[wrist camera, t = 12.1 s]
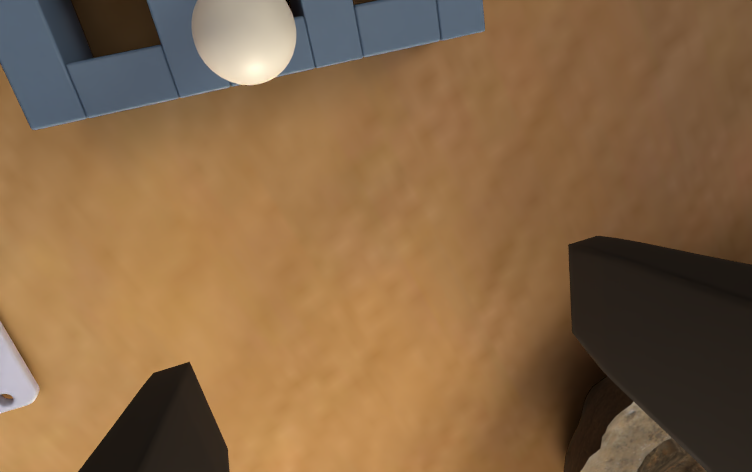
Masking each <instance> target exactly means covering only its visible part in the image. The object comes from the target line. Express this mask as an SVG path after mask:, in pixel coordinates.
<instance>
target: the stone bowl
mask: <svg viewBox="0 0 752 472" xmlns="http://www.w3.org/2000/svg"><path fill="white" fill-rule="evenodd" d="M564 472H707V471H706V470H705V469H704V468H703V467H702V466H701V465H700V464H699V463H698V462H697V461H696V460H695V459H694V458H692V457H691V456H690V455H689V454H688V453H687V452H686V451H685V450H684V449H683V448H682V447H681V446H680V445H679V444H678V443H677V442H676V441H675V440H674V439H672V438H671V437H670V436H669V435H668V434H667V433H666V432H665V431H664V430H663V429H662V428H661V427H660V426H659V425H658V424H657V423H656V422H655V421H654V420H652V419H651V418H650V417H649V416H648V415H647V414H646V413H645V412H644V411H643V410H642V409H641V408H640V407H639V406H638V405H637V404H636V403H635V402H634V401H633V400H632V399H631V398H629V397H628V396H627V395H626V394H625V393H624V392H623V391H622V390H621V389H620V388H619V387H618V386H617V385H616V384H615V383H614V382H613V381H612V380H611V379H610V378H609V377H608V376H607V377H606V378H604V379H603V380H602V381H600V382H599V383H597V384H596V385H595V386H593V388H592V389H591V390H590V392H589V394H588V395H587V397H586V400H585V402H584V406H583V411H582V415H581V419H580V422H579V425H578V427H577V429H576V430H575V432H574V434H573V436H572V439H571V441H570V443H569V446H568V449H567V453H566V457H565V465H564Z"/></svg>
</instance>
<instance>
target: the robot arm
mask: <svg viewBox="0 0 752 472" xmlns="http://www.w3.org/2000/svg"><path fill="white" fill-rule="evenodd" d="M568 247H569V271H570V295H571V318H572V333H573V334H574V335H575V337H576V338H577V339H578V341H579V342H580V343H581V345H582V346H583V347H584V348H585V350H586V351H587V352H588V354H589V355H590V356H591V357H592V359H593V360H594V361H595V362H596V363H597V365H598V366H599V367H600V368H601V369H602V371H603V372H604V373H605V374H606V375H607V376H608V377H609V378H610V379H611V380H612V381H613V382H614V383H615V384H616V385H617V386H618V387H619V388H620V389H621V390H622V391H623V392H624V393H625V394H626V395H627V396H628V397H629V398H631V399H632V400H633V401H634V402H635V403H636V404H637V405H638V406H639V407H640V408H641V409H642V410H643V411H644V412H645V413H646V414H647V415H648V416H649V417H650V418H651V419H652V420H654V421H655V422H656V423H657V424H658V425H659V426H660V427H661V428H662V429H663V430H664V431H665V432H666V433H667V434H668V435H669V436H670V437H671V438H672V439H674V440H675V441H676V442H677V443H678V444H679V445H680V446H681V447H682V448H683V449H684V450H685V451H686V452H687V453H688V454H689V455H690V456H691V457H692V458H694V459H695V460H696V461H697V462H698V463H699V464H700V465H701V466H702V467H703V468H704V469H705V470H706V471H707V472H752V265H750V264H745V263H739V262H734V261H729V260H724V259H719V258H714V257H709V256H704V255H699V254H694V253H689V252H685V251H680V250H675V249H670V248H665V247H660V246H656V245H651V244H646V243H641V242H635V241H630V240H624V239H618V238H611V237H602V236H595V237H592V238H589V239H585V240H582V241H579V242H576V243H573V244H569V245H568ZM39 390H40V389H39V386H38V384H37V382H36V380H35V379H34V377H33V375H32V374H31V372H30V370H29V369H28V367H27V365H26V364H25V362H24V360H23V358H22V357H21V355H20V353H19V352H18V350H17V348H16V347H15V345H14V343H13V341H12V340H11V338H10V336H9V335H8V333H7V331H6V330H5V328H4V326H3V325H2V323H1V321H0V413H3V412H6V411H9V410H13V409H16V408H19V407H23V406H26V405H29V404H31V403H32V402H33V401H34V400H35V399H36V397H37V395H38V394H39ZM2 394H9V395H11V396H12V397H13V398H12V399H8V398H5V397H4V396H2ZM78 472H229V460H228V448H227V446H226V444H225V442H224V439H223V437H222V435H221V432H220V430H219V428H218V426H217V423H216V421H215V419H214V416H213V414H212V412H211V410H210V407H209V405H208V403H207V400H206V398H205V396H204V394H203V391H202V389H201V387H200V384H199V382H198V380H197V378H196V375H195V373H194V371H193V369H192V366H191V364H190V362H188V363H185V364H181V365H178V366H175V367H172V368H168V369H165V370H162V371H159V372H155V373H153V374H152V376H151V377H150V378H149V379H148V380H147V381H146V383H145V384H144V385H143V387H142V388H141V389H140V390H139V392H138V393H137V394H136V396H135V397H134V398H133V400H132V401H131V402H130V404H129V405H128V406H127V408H126V409H125V411H124V412H123V413H122V415H121V416H120V417H119V419H118V420H117V421H116V423H115V424H114V425H113V427H112V428H111V429H110V431H109V432H108V433H107V435H106V436H105V437H104V439H103V440H102V441H101V443H100V444H99V445H98V446H97V448H96V449H95V450H94V452H93V453H92V454H91V456H90V457H89V458H88V460H87V461H86V462H85V464H84V465H83V466H82V468H81V469H80V470H79V471H78Z"/></svg>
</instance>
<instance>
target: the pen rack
mask: <svg viewBox="0 0 752 472" xmlns="http://www.w3.org/2000/svg"><path fill="white" fill-rule="evenodd" d="M146 1H147V3H148V6H149V9H150V12H151V15H152V18H153V21H154V24H155V27H156V30H157V33H158V36H159V39H160V42H161V45H155V46H151V47H146V48H141V49H136V50H131V51H126V52H121V53H116V54H111V55H106V56H101V57H96V58H93V55H92V53H91V50H90V47H89V45H88V42H87V40H86V37H85V35H84V32H83V30H82V27H81V25H80V22H79V20H78V17H77V15H76V12H75V10H74V7H73V5H72V2H71V0H0V63H1V66H2V68H3V70H4V72H5V74H6V76H7V78H8V80H9V83H10V85H11V87H12V89H13V91H14V93H15V95H16V97H17V100H18V102H19V104H20V106H21V108H22V110H23V112H24V114H25V117H26V119H27V121H28V123H29V125H30V127H31V129H32V130H38V129H43V128H47V127H52V126H56V125H61V124H66V123H70V122H75V121H79V120H84V119H86V118H93V117H97V116H102V115H107V114H111V113H116V112H120V111H125V110H129V109H134V108H138V107H143V106H147V105H152V104H157V103H161V102H166V101H170V100H175V99H178V98H179V97H180V98H184V97H188V96H193V95H198V94H202V93H207V92H211V91H216V90H220V89H225V88H229V87H230V85H231V86H238V85H241V84H237V83H233V82H230V81H228V80H226V79H223V78H221V77H220V76H218V75H217V74H216V73H214V72H213V71H212V70H211V69H210V68H209V67H208V66H207V65H206V64H205V63H204V61H203V60H202V58H201V57H200V55H199V53H198V51H197V49H196V46H195V44H194V40H193V35H192V14H193V10H194V7H195V5H196V2H197V0H146ZM290 5H291V9H292V13H293V17H294V21H295V26H296V45H295V49H294V53H293V56H292V58H291V60H290V62H289V64H288V65H287V66H286V68H285V69H284V70H283V71H282V72H281V73H280V74H279V75H278V76H276V77H279V76H284V75H288V74H293V73H297V72H302V71H306V70H311V69H314V68H315V67H316V68H320V67H325V66H329V65H334V64H338V63H343V62H348V61H352V60H357V59H361V58H363V57H370V56H374V55H379V54H383V53H388V52H392V51H397V50H401V49H406V48H411V47H415V46H420V45H424V44H429V43H433V42H438V41H439V40H447V39H452V38H456V37H461V36H465V35H470V34H475V33H479V32H483V31H485V23H484V12H483V1H482V0H377V1H372V2H367V3H362V4H357V5H353V0H290Z"/></svg>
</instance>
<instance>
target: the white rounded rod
mask: <svg viewBox="0 0 752 472" xmlns="http://www.w3.org/2000/svg"><path fill="white" fill-rule="evenodd" d="M192 35H193V40H194V44H195V46H196V49H197V51H198V53H199V55H200V57H201V58H202V60H203V61H204V63H205V64H206V65H207V66H208V67H209V68H210V69H211V70H212V71H213V72H214V73H216V74H217V75H218V76H220V77H221V78H223V79H226V80H228V81H230V82H233V83H237V84H241V85H256V84H261V83H264V82H267V81H269V80H271V79H273V78H275V77H276V76H278V75H279V74H280V73H281V72H282V71H283V70H284V69H285V68H286V66H287V65H288V64H289V62H290V60H291V58H292V56H293V53H294V49H295V45H296V26H295V21H294V17H293V14H292V12H291V10H290V8H289V6H288V4H287V2H286V1H285V0H197V2H196V5H195V7H194V10H193V14H192Z"/></svg>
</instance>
